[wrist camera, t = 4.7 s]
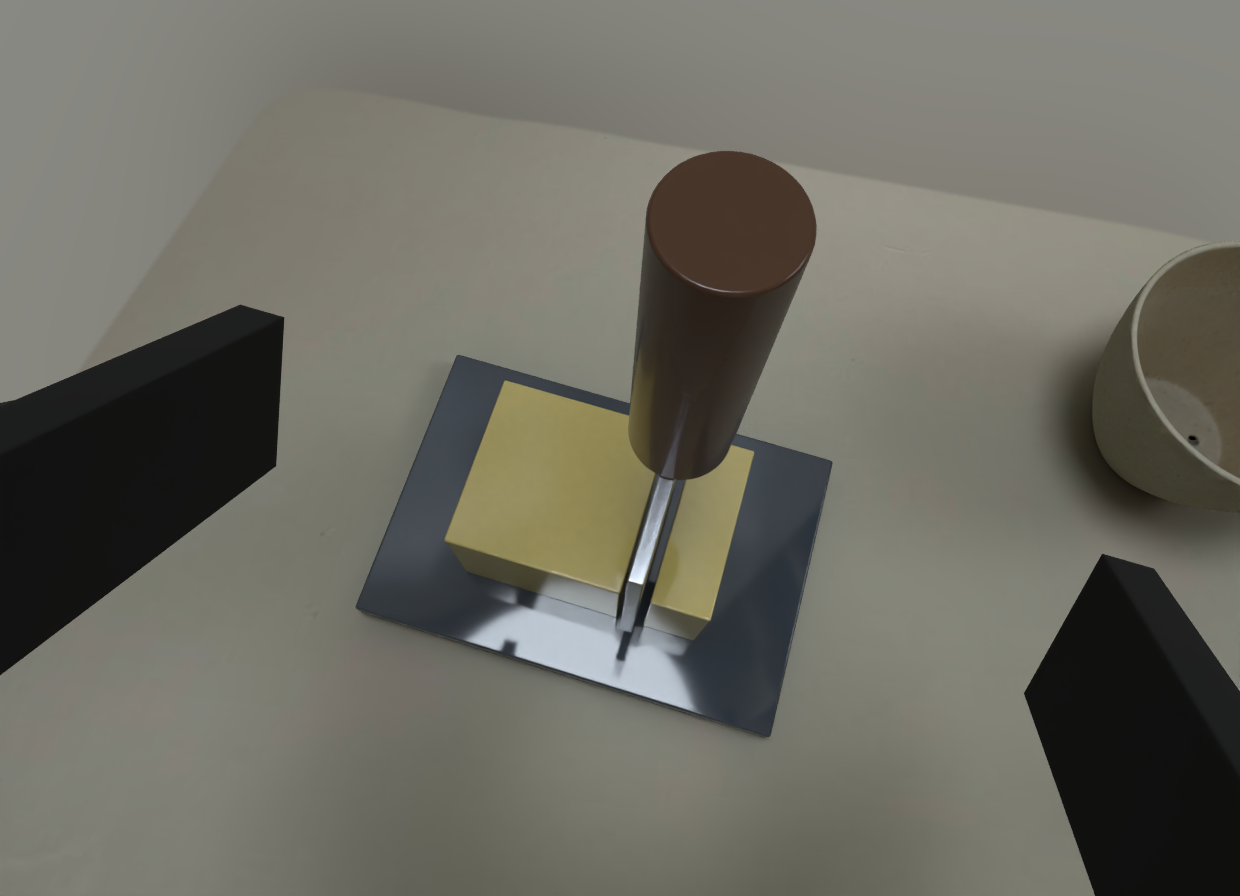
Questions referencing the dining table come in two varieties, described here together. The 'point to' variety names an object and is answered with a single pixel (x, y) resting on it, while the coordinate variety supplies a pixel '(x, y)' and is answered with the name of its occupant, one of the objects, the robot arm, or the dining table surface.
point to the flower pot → (1177, 383)
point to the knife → (708, 318)
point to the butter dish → (580, 636)
